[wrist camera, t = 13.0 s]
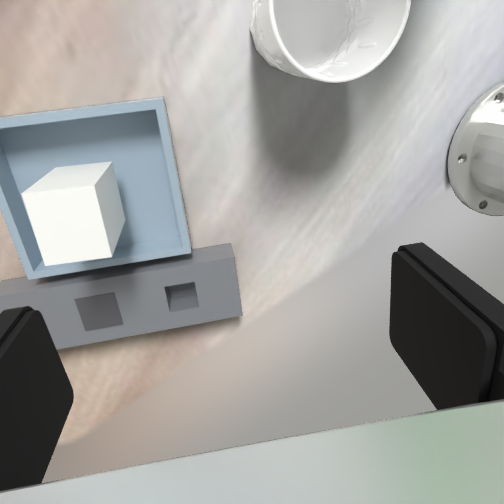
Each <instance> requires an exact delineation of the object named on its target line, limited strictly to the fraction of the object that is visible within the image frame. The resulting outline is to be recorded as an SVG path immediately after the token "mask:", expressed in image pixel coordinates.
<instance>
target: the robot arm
mask: <svg viewBox="0 0 504 504" xmlns="http://www.w3.org/2000/svg"><path fill="white" fill-rule="evenodd" d="M448 175H449V179H450V184H451V187H452V189H453V191H454V193H455V195H456V196H457V197H458V198H459V200H460V201H461V202H462V203H463V204H465V205H466V206H467V207H469V208H470V209H472V210H475V211H477V212H479V213H482V214H486V215H490V216H503V215H504V81H502V82H501V83H499V84H497V85H495V86H494V87H492V88H491V89H489V90H488V91H487V92H486V93H484V94H483V95H482V96H481V97H479V99H478V100H477V101H476V102H475V103H474V104H473V105H472V106H471V107H470V108H469V110H468V111H467V113H466V114H465V116H464V117H463V118H462V120H461V122H460V124H459V126H458V128H457V130H456V132H455V134H454V136H453V140H452V143H451V146H450V150H449V157H448ZM390 300H391V301H390V330H389V331H390V332H389V333H390V340H391V343H392V345H393V347H394V349H395V350H396V352H397V353H398V355H399V356H400V357H401V359H402V360H403V362H404V363H405V365H406V366H407V367H408V369H409V370H410V372H411V373H412V375H413V376H414V377H415V379H416V380H417V382H418V383H419V385H420V386H421V387H422V389H423V390H424V392H425V393H426V395H427V396H428V397H429V399H430V400H431V402H432V403H433V404H434V406H435V407H436V409H437V410H435V411H430V412H425V413H419V414H413V415H408V416H402V417H396V418H392V419H385V420H380V421H375V422H369V423H363V424H358V425H352V426H346V427H341V428H335V429H330V430H324V431H319V432H313V433H307V434H302V435H296V436H291V437H286V438H280V439H275V440H270V441H264V442H258V443H253V444H248V445H242V446H237V447H232V448H226V449H221V450H215V451H210V452H205V453H199V454H194V455H189V456H184V457H178V458H173V459H167V460H162V461H156V462H151V463H146V464H141V465H135V466H130V467H125V468H119V469H114V470H109V471H104V472H99V473H94V474H88V475H83V476H77V477H72V478H67V479H62V480H56V481H52V482H46V483H42V480H43V478H44V475H45V472H46V470H47V467H48V465H49V462H50V460H51V457H52V455H53V452H54V449H55V447H56V444H57V442H58V439H59V437H60V434H61V432H62V429H63V427H64V424H65V421H66V419H67V416H68V414H69V411H70V409H71V406H72V403H73V398H74V395H73V389H72V386H71V384H70V381H69V379H68V377H67V374H66V372H65V369H64V367H63V364H62V362H61V359H60V357H59V355H58V352H57V350H56V347H55V345H54V342H53V340H52V338H51V335H50V333H49V330H48V328H47V325H46V323H45V320H44V318H43V316H42V314H41V312H40V311H38V310H34V309H33V308H32V307H30V306H24V307H18V308H12V309H6V310H4V311H2V312H1V313H0V504H504V304H503V303H501V302H500V301H499V300H497V299H496V298H495V297H493V296H492V295H491V294H489V293H488V292H487V291H486V290H484V289H483V288H482V287H480V286H479V285H478V284H476V283H475V282H474V281H472V280H471V279H470V278H469V277H467V276H466V275H464V274H463V273H462V272H461V271H459V270H458V269H457V268H455V267H454V266H453V265H452V264H450V263H449V262H448V261H446V260H445V259H444V258H442V257H441V256H440V255H438V254H437V253H436V252H435V251H433V250H432V249H431V248H429V247H428V246H427V245H425V244H424V243H422V242H421V243H415V244H409V245H403V246H400V247H399V248H398V251H397V252H394V253H393V255H392V268H391V298H390Z"/></svg>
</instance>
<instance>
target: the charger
mask: <svg viewBox="0 0 504 504" xmlns="http://www.w3.org/2000/svg"><path fill="white" fill-rule="evenodd" d="M21 195H22V198H23V201H24V204H25V207H26V210H27V213H28V216H29V219H30V222H31V225H32V228H33V231H34V234H35V237H36V240H37V243H38V246H39V249H40V252H41V255H42V258H43V261H44V264H45V266H49V265H57V264H64V263H72V262H79V261H87V260H94V259H101V258H109V257H112V255H113V253H114V250H115V247H116V244H117V242H118V239H119V236H120V233H121V231H122V228H123V225H124V222H125V216H124V211H123V207H122V202H121V198H120V193H119V189H118V184H117V180H116V175H115V171H114V166H113V162H112V161H111V162H102V163H92V164H83V165H74V166H64V167H56V168H54V169H53V170H52V171H50V172H49V173H48V174H46V175H45V176H44V177H42V178H41V179H40V180H39V181H37V182H36V183H35V184H33V185H32V186H31V187H29V188H28V189H27V190H25V191H24V192H23V193H21Z"/></svg>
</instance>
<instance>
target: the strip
mask: <svg viewBox="0 0 504 504" xmlns="http://www.w3.org/2000/svg"><path fill="white" fill-rule="evenodd" d="M24 306H30V307H32V308H33V309H34V310H38V311H40V312H41V314H42V316H43V318H44V320H45V323H46V325H47V328H48V330H49V333H50V335H51V338H52V340H53V342H54V345H55V347H56V350H58V349H64V348H69V347H75V346H80V345H85V344H91V343H96V342H102V341H107V340H113V339H118V338H124V337H129V336H135V335H140V334H145V333H151V332H156V331H162V330H167V329H173V328H178V327H184V326H189V325H195V324H200V323H206V322H211V321H216V320H222V319H227V318H233V317H238V316H243V314H242V307H241V300H240V293H239V285H238V278H237V271H236V263H235V257H234V253H233V250H232V246H231V243H229V244H223V245H217V246H211V247H205V248H199V249H192V250H191V253H189V254H183V255H177V256H170V257H164V258H158V259H152V260H146V261H140V262H134V263H128V264H122V265H116V266H109V267H103V268H97V269H91V270H85V271H79V272H73V273H67V274H61V275H55V276H49V277H42V278H36V279H30V280H28V278H27V277H21V278H15V279H9V280H2V281H1V282H0V313H1V312H2V311H4V310H6V309H12V308H18V307H24Z"/></svg>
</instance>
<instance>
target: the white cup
mask: <svg viewBox="0 0 504 504" xmlns="http://www.w3.org/2000/svg"><path fill="white" fill-rule="evenodd" d="M410 5H411V0H254V1H253V3H252V9H251V20H250V31H251V34H252V37H253V41H254V44H255V47H256V50H257V51H258V52H259V53H260V55H261V56H262V57H263V58H264V59H265V60H266V61H267V63H268V64H269V65H270V66H273V67H275V68H278V69H280V70H282V71H284V72H286V73H289V74H292V75H295V76H298V77H303V78H308V79H313V80H318V81H322V82H328V83H341V82H348V81H352V80H355V79H358V78H360V77H362V76H364V75H366V74H368V73H369V72H371V71H372V70H374V69H375V68H376V67H377V66H379V65H380V64H381V63H382V62H383V61H384V60H385V59H386V58H387V57H388V55H389V54H390V53H391V52H392V50H393V49H394V47H395V46H396V44H397V42H398V41H399V39H400V37H401V35H402V33H403V30H404V28H405V25H406V22H407V19H408V15H409V11H410Z"/></svg>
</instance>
